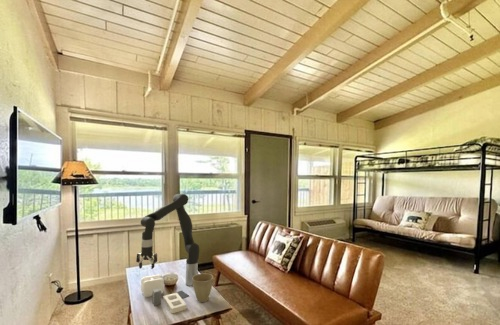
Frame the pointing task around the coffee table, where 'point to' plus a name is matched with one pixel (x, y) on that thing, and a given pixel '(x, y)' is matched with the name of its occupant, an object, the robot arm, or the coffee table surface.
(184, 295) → the phone slab
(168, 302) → the outlet plate
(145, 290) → the cable organizer
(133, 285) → the coffee table surface
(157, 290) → the block
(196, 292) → the plant pot
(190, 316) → the coffee table surface
